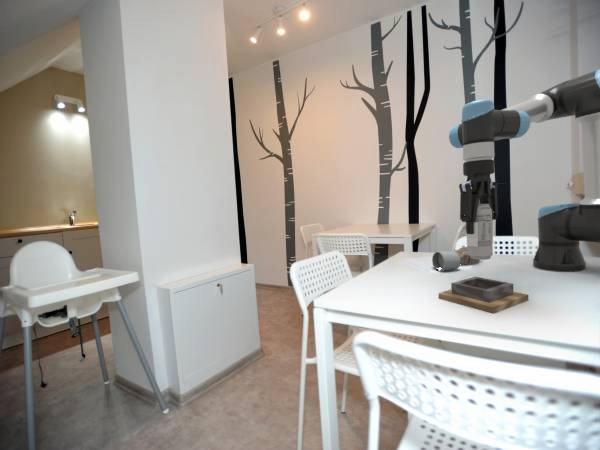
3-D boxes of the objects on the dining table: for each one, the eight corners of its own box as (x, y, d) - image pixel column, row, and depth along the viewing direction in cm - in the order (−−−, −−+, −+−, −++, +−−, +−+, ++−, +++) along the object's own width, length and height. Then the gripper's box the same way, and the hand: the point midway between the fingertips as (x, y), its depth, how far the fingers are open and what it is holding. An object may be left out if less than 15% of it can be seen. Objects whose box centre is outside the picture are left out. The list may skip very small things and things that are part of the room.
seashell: (462, 252, 146) (470, 234, 140) (481, 265, 140) (490, 247, 134) (441, 263, 139) (449, 245, 133) (460, 277, 133) (470, 259, 127)
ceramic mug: (462, 270, 124) (462, 250, 124) (444, 273, 123) (443, 252, 122) (444, 265, 135) (443, 247, 134) (427, 268, 133) (426, 249, 132)
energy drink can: (493, 256, 91) (492, 203, 90) (492, 260, 86) (491, 204, 85) (469, 255, 95) (467, 204, 93) (467, 259, 89) (465, 205, 88)
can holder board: (473, 287, 102) (472, 273, 102) (528, 300, 88) (528, 283, 88) (438, 298, 95) (438, 283, 94) (493, 313, 81) (492, 295, 80)
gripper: (486, 162, 96) (487, 239, 98) (443, 162, 87) (445, 247, 89) (512, 158, 89) (513, 241, 91) (469, 158, 81) (471, 250, 82)
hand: (480, 244), depth 90 cm, fingers closed on energy drink can, 6 cm apart
